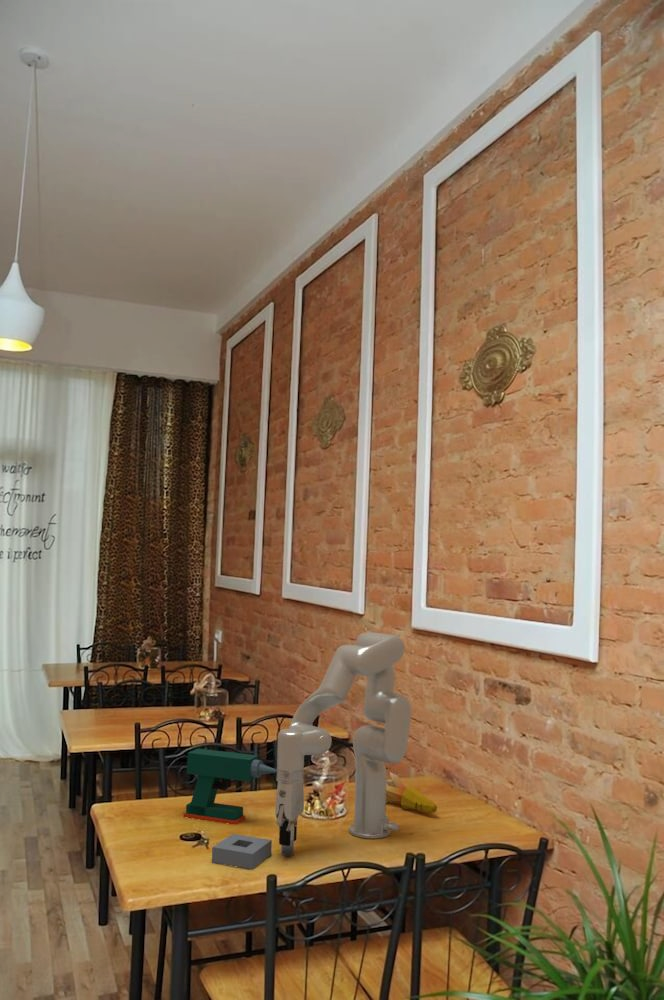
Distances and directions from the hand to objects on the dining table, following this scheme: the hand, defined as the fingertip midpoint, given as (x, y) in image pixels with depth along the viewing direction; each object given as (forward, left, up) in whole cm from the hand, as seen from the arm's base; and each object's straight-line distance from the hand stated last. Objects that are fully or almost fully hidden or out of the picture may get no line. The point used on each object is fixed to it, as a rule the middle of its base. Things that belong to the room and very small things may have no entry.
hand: (287, 841), depth 222 cm
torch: (-19, -56, -4) cm, 59 cm away
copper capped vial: (0, 0, -3) cm, 3 cm away
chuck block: (+10, +8, -3) cm, 13 cm away
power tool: (+27, -20, -4) cm, 34 cm away
